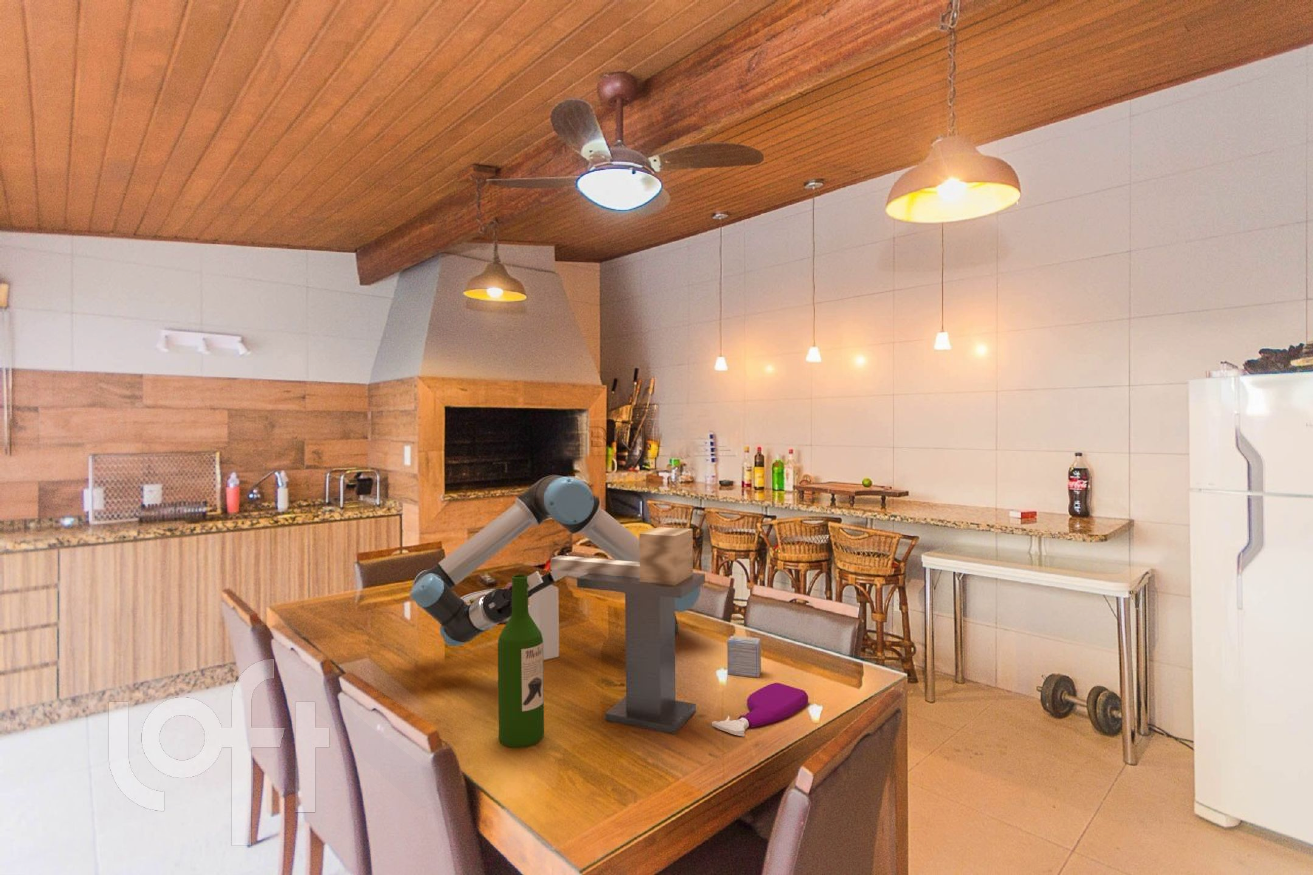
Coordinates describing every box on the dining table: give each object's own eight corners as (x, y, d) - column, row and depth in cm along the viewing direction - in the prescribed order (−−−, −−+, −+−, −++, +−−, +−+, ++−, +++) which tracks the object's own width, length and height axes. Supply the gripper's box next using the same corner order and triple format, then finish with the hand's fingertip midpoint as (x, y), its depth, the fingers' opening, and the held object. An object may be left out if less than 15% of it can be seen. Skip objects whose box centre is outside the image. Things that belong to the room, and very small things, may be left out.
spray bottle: (813, 705, 145) (749, 746, 128) (771, 692, 153) (705, 729, 135) (812, 692, 145) (749, 731, 127) (771, 679, 153) (705, 715, 135)
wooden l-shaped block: (542, 572, 145) (542, 527, 145) (566, 563, 154) (566, 521, 154) (675, 585, 132) (674, 535, 132) (692, 574, 141) (692, 528, 141)
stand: (578, 717, 139) (576, 577, 139) (609, 693, 152) (608, 565, 152) (682, 738, 129) (680, 588, 129) (706, 710, 142) (704, 573, 142)
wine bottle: (522, 752, 124) (520, 583, 124) (489, 740, 129) (487, 577, 129) (553, 733, 132) (551, 574, 132) (520, 723, 137) (519, 569, 136)
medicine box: (761, 672, 165) (761, 637, 164) (758, 678, 160) (758, 643, 160) (730, 668, 167) (730, 635, 167) (727, 674, 163) (726, 640, 163)
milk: (539, 661, 173) (538, 579, 173) (529, 655, 178) (528, 575, 178) (559, 656, 177) (558, 576, 177) (549, 650, 182) (548, 572, 181)
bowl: (538, 626, 206) (538, 601, 206) (444, 626, 206) (443, 601, 206) (554, 601, 236) (554, 579, 236) (472, 601, 236) (471, 580, 236)
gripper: (530, 609, 167) (591, 574, 159) (464, 638, 144) (531, 598, 137) (518, 583, 169) (578, 546, 161) (450, 607, 146) (516, 566, 138)
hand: (557, 570), depth 149 cm, fingers open, 13 cm apart
